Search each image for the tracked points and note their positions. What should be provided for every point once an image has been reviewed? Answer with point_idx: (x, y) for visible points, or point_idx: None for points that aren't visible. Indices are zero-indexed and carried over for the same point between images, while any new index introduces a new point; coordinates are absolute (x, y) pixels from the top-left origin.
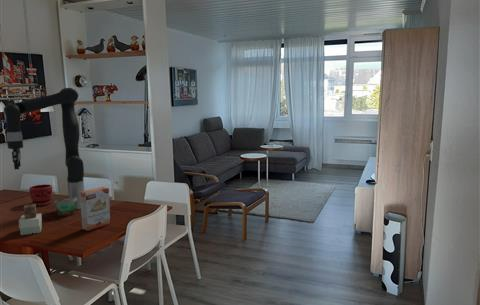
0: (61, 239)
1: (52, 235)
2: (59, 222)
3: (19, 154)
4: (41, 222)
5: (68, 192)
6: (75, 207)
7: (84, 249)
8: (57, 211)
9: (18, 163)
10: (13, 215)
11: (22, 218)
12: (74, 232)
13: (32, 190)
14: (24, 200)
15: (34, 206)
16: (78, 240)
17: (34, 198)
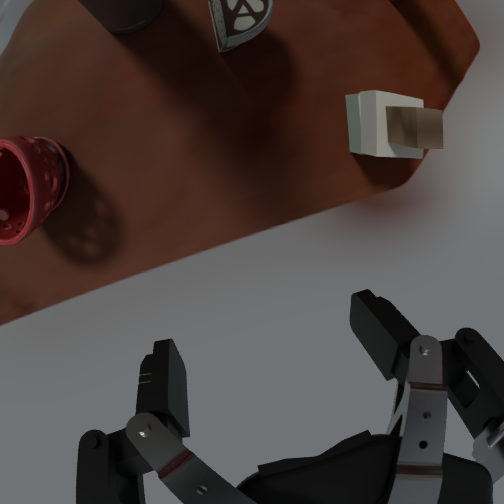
0: (438, 57)
1: (416, 71)
2: (317, 43)
3: (415, 466)
4: (354, 94)
5: (122, 1)
6: (161, 2)
7: (475, 36)
8: (228, 48)
9: (406, 331)
10: (176, 230)
11: (407, 150)
12: (407, 22)
13: (38, 215)
14: (10, 259)
15: (440, 111)
16: (446, 30)
17: (56, 197)
